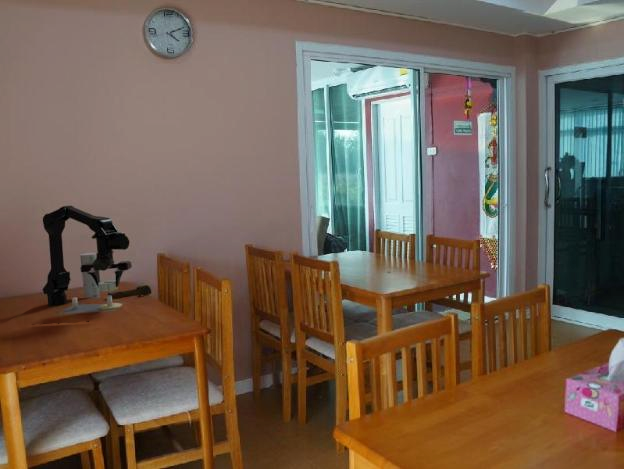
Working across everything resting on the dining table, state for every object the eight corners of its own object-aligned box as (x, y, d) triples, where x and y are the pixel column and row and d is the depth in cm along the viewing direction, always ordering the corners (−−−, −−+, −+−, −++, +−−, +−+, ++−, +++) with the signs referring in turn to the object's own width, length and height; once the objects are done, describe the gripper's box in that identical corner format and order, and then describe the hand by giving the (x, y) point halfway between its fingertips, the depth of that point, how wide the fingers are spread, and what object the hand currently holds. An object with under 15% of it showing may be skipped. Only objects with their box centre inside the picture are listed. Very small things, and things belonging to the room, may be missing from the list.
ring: (96, 291, 226) (96, 284, 225) (102, 288, 233) (102, 280, 232) (114, 290, 226) (113, 283, 226) (119, 287, 233) (118, 280, 232)
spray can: (96, 299, 251) (92, 254, 248) (82, 300, 251) (77, 255, 248) (102, 296, 257) (98, 252, 255) (87, 296, 257) (83, 253, 255)
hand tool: (110, 302, 244) (109, 292, 243) (107, 301, 247) (106, 290, 247) (153, 295, 254) (152, 285, 254) (150, 294, 258) (149, 284, 257)
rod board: (58, 316, 223) (57, 301, 222) (72, 307, 237) (71, 293, 236) (116, 313, 223) (114, 298, 223) (126, 304, 237) (125, 290, 237)
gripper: (73, 253, 219) (77, 293, 221) (121, 251, 220) (125, 290, 221) (84, 249, 230) (87, 287, 232) (130, 247, 231) (133, 284, 232)
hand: (108, 287), depth 229 cm, fingers closed on ring, 7 cm apart
